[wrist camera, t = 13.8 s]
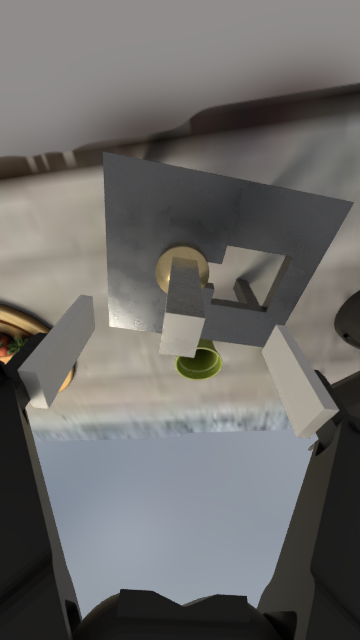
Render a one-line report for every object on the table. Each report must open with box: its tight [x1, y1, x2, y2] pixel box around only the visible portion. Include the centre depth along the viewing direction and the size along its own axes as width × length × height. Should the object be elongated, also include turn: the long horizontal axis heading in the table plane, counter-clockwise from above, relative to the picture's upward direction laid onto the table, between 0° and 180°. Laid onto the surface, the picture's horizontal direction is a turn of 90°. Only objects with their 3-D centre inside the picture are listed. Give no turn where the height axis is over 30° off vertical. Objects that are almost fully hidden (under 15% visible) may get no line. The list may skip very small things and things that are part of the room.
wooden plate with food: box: [0, 305, 74, 393], centre depth 51 cm, size 32×32×8 cm
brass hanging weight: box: [155, 244, 209, 358], centre depth 22 cm, size 6×6×20 cm
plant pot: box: [175, 339, 222, 380], centre depth 46 cm, size 9×9×9 cm
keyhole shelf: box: [103, 152, 354, 347], centre depth 30 cm, size 22×18×16 cm
